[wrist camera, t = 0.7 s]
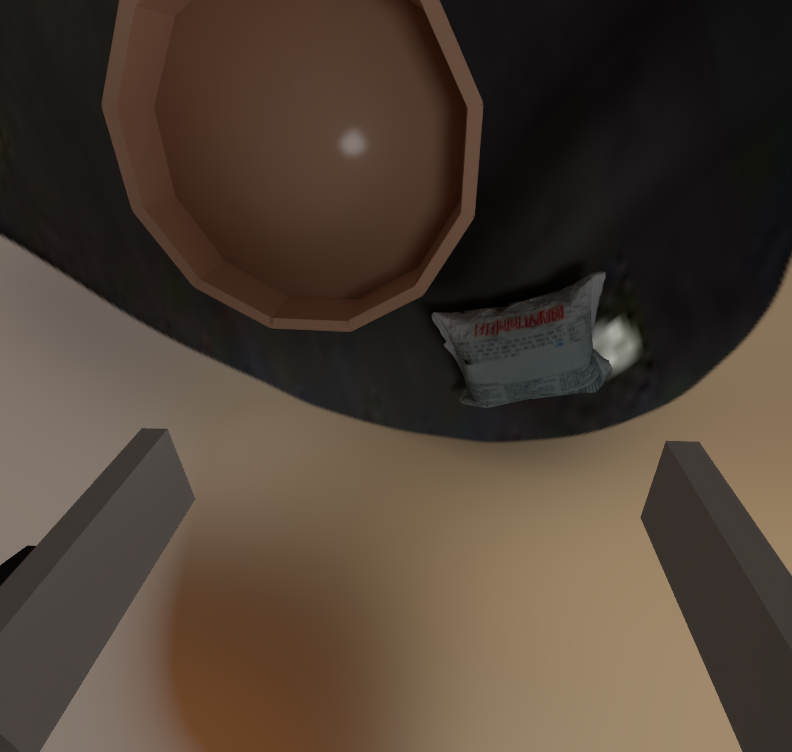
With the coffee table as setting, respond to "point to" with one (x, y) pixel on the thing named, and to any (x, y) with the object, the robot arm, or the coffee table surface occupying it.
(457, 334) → the packaged food
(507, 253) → the coffee table surface
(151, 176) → the bowl
